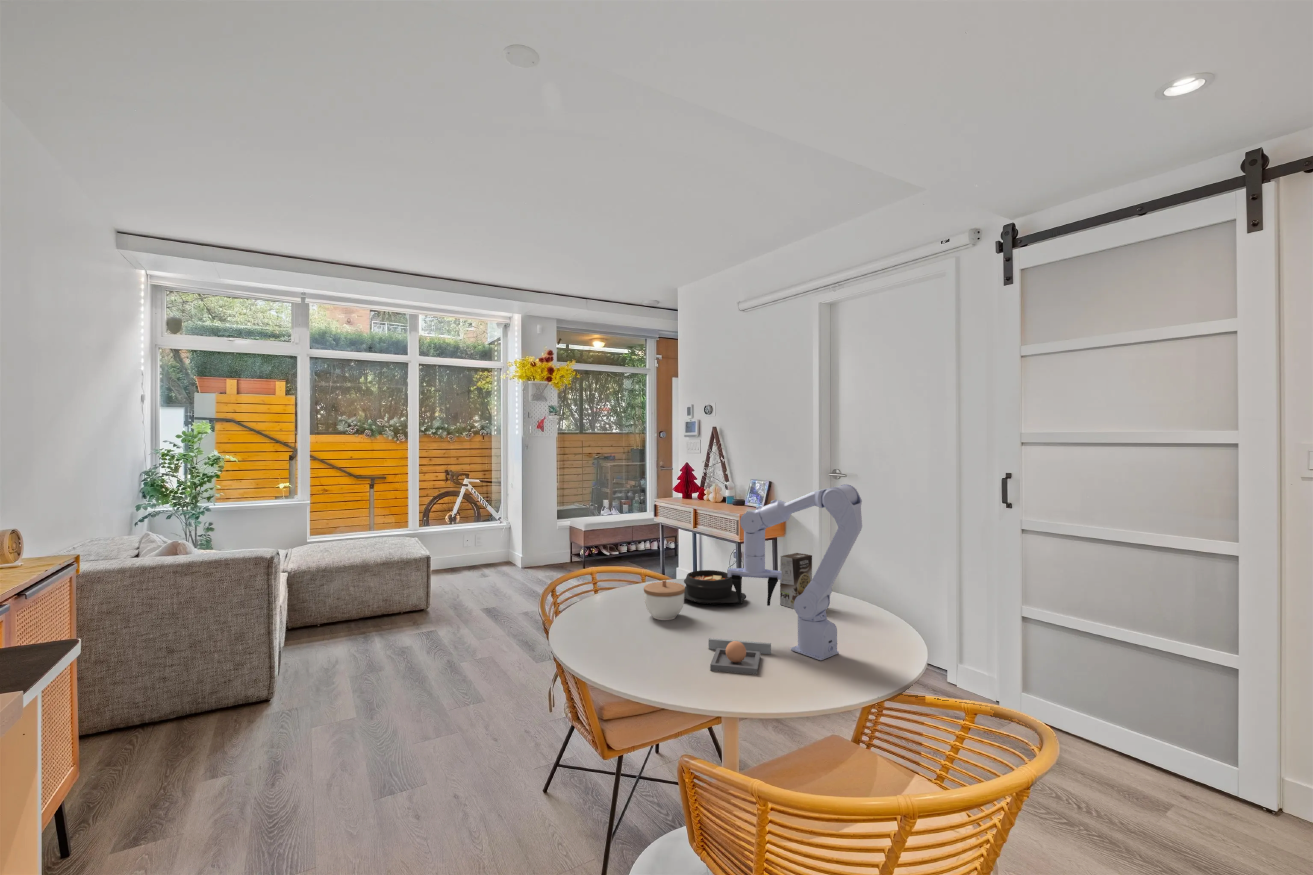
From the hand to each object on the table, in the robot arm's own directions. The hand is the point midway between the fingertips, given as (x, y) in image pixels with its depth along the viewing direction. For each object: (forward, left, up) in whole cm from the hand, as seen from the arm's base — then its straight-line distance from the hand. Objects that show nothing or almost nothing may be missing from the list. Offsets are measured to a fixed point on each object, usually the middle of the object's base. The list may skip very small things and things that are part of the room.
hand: (754, 603), depth 164 cm
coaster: (-9, +17, -9) cm, 21 cm away
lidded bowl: (+30, +7, -10) cm, 32 cm away
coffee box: (+12, -34, -10) cm, 37 cm away
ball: (-9, +17, -9) cm, 21 cm away
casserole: (+34, -16, -10) cm, 39 cm away
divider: (-4, +10, -9) cm, 14 cm away
